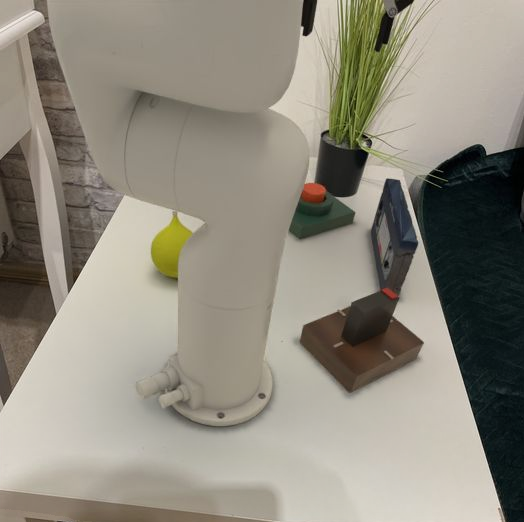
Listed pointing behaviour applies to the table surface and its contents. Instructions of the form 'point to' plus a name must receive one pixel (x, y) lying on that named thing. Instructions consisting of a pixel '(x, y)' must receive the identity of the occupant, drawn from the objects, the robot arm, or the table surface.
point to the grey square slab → (369, 316)
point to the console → (359, 350)
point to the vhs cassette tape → (393, 237)
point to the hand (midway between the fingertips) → (342, 41)
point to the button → (313, 193)
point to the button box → (320, 216)
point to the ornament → (169, 247)
